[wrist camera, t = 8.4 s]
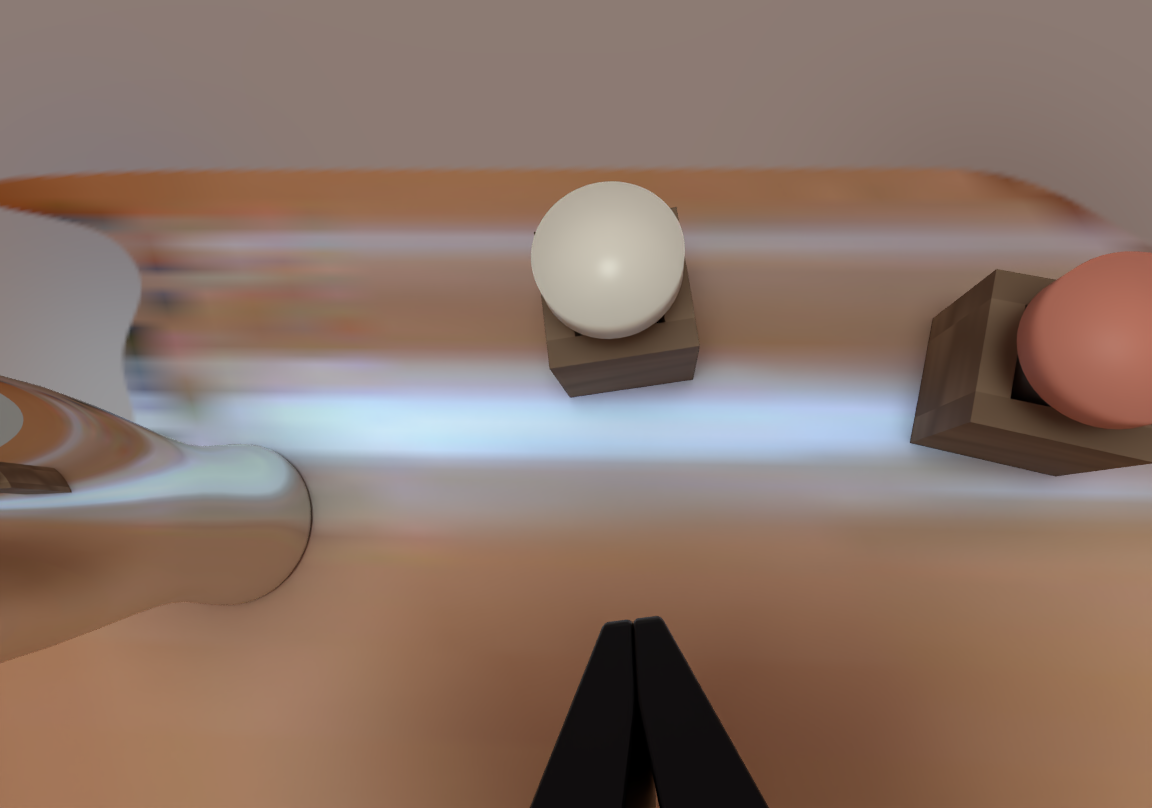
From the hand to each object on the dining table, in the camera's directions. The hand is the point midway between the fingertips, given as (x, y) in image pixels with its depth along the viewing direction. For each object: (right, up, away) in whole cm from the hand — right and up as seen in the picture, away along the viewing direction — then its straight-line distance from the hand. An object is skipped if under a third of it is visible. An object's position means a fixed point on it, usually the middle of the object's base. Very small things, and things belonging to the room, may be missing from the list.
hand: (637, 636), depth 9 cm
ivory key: (+1, +6, +13) cm, 15 cm away
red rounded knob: (+13, +4, +11) cm, 18 cm away
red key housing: (+13, +4, +13) cm, 19 cm away
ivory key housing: (+1, +6, +15) cm, 16 cm away
